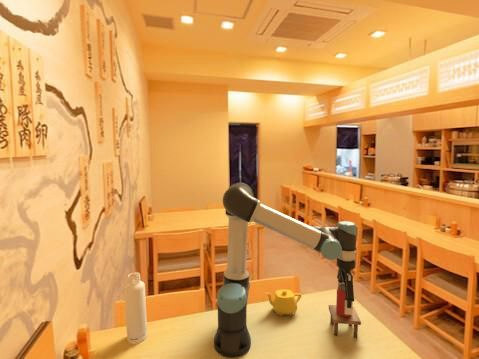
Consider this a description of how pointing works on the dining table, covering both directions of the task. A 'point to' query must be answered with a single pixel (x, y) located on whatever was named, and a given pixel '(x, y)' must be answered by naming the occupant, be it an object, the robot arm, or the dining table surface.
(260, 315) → the dining table surface
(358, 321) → the stool
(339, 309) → the beer can
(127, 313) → the bottle
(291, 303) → the teapot
